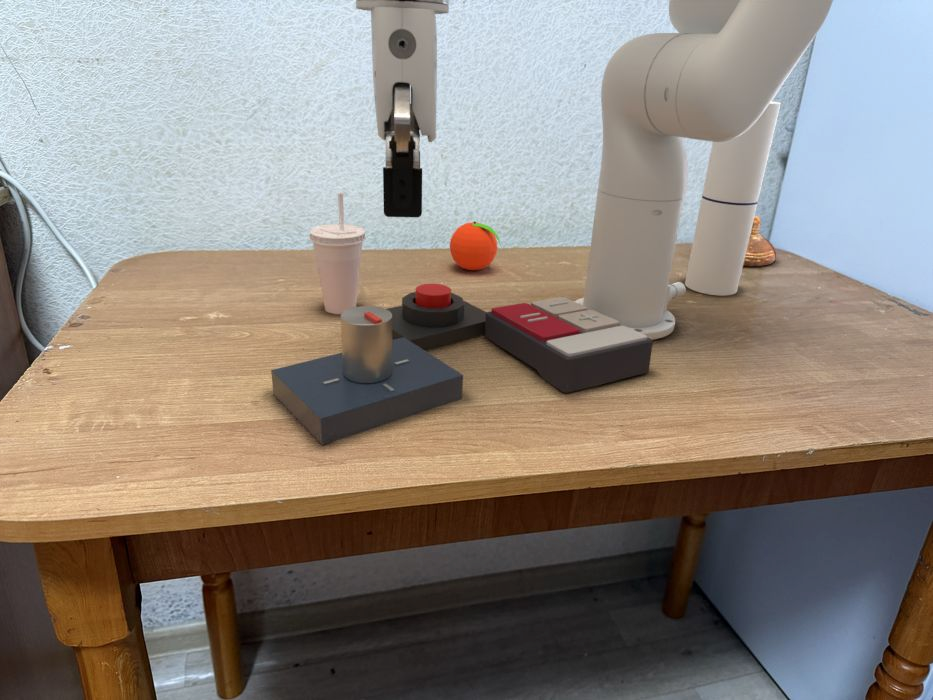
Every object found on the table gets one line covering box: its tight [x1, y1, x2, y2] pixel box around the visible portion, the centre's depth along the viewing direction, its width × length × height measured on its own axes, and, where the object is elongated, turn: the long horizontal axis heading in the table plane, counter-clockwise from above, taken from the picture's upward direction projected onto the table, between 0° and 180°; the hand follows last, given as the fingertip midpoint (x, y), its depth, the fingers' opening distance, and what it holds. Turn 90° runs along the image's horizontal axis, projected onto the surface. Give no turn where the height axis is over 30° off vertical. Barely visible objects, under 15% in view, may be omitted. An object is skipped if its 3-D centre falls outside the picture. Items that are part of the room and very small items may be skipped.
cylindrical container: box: [684, 101, 782, 297], centre depth 87 cm, size 7×7×25 cm
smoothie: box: [308, 192, 366, 315], centre depth 75 cm, size 6×6×14 cm
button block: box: [385, 291, 488, 351], centre depth 73 cm, size 12×9×4 cm
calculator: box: [484, 296, 654, 394], centre depth 68 cm, size 11×4×15 cm
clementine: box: [449, 221, 502, 272], centre depth 93 cm, size 8×7×7 cm
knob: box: [340, 305, 392, 383], centre depth 57 cm, size 4×4×6 cm
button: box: [414, 283, 452, 308], centre depth 72 cm, size 4×4×2 cm
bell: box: [743, 215, 777, 267], centre depth 106 cm, size 12×12×7 cm
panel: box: [270, 337, 464, 446], centre depth 58 cm, size 14×10×3 cm
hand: (403, 203), depth 59 cm, fingers open, 9 cm apart
